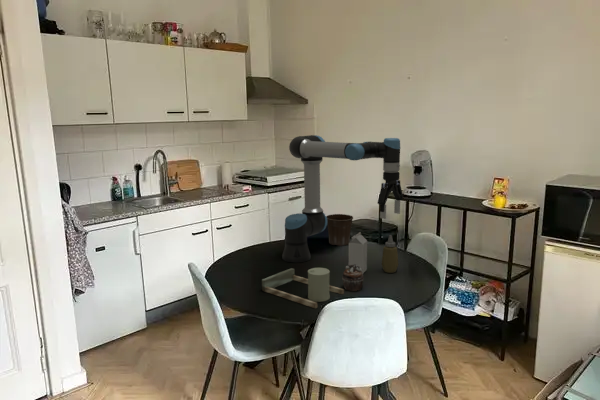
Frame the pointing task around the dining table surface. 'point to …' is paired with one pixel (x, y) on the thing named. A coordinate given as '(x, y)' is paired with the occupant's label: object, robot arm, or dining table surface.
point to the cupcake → (352, 278)
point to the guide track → (286, 277)
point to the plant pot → (339, 229)
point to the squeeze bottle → (390, 256)
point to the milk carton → (358, 252)
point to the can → (318, 284)
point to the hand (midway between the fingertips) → (390, 215)
